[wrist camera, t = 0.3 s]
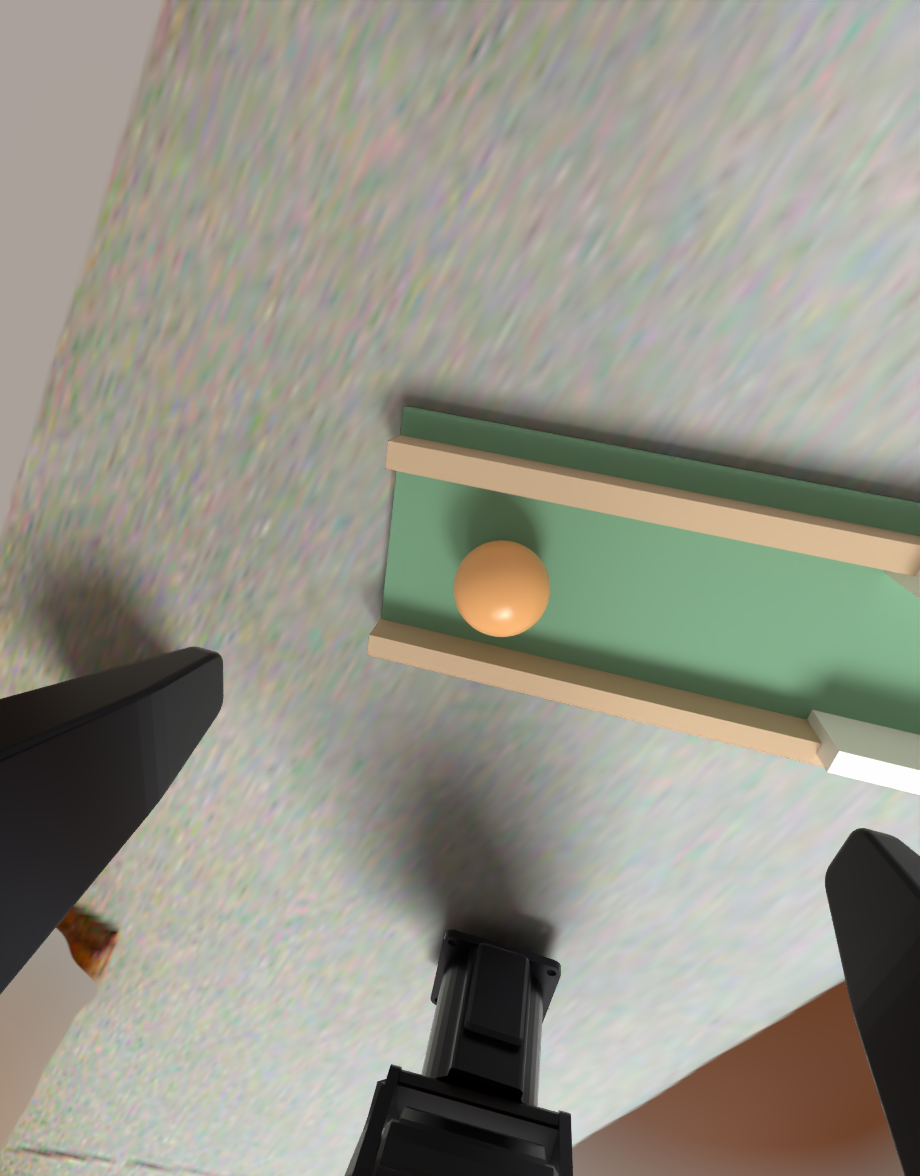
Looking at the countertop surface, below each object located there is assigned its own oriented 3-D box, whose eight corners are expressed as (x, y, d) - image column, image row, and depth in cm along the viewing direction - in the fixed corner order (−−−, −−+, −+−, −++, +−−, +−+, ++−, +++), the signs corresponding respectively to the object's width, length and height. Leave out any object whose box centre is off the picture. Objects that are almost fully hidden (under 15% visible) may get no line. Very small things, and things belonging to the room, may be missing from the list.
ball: (541, 620, 23) (535, 665, 19) (457, 600, 23) (437, 641, 20) (561, 538, 21) (558, 572, 18) (470, 519, 21) (451, 549, 18)
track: (1037, 810, 22) (1080, 853, 20) (381, 650, 25) (365, 674, 24) (1240, 563, 18) (1320, 589, 16) (407, 406, 21) (390, 411, 19)
